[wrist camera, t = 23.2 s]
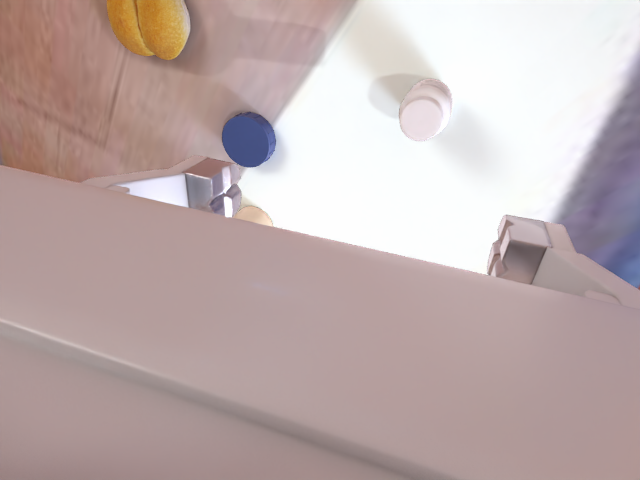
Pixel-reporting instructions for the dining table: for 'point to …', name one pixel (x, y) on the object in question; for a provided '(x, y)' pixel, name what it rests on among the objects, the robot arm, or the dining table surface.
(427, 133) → the pill bottle
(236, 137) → the lid
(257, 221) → the beige cylinder
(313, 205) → the dining table surface
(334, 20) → the dining table surface
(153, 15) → the bread roll
